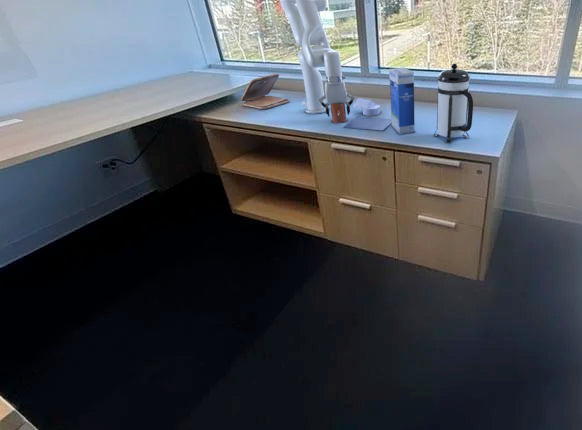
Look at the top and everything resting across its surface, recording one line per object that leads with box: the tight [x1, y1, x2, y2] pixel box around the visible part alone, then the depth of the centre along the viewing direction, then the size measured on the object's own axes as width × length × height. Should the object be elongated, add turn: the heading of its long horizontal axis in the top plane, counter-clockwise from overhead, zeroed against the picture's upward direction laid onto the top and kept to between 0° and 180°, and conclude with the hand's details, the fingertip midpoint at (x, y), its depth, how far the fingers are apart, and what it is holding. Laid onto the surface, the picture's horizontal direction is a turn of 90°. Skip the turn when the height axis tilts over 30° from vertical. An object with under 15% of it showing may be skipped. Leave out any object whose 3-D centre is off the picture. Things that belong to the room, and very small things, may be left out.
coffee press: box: [433, 63, 474, 143], centre depth 155 cm, size 17×16×30 cm
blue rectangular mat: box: [343, 116, 392, 132], centre depth 183 cm, size 20×16×1 cm
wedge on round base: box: [352, 97, 381, 117], centre depth 197 cm, size 9×7×13 cm
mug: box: [329, 103, 347, 124], centre depth 186 cm, size 10×7×9 cm
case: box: [240, 73, 290, 110], centre depth 217 cm, size 20×21×16 cm
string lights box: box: [388, 66, 416, 135], centre depth 168 cm, size 13×8×26 cm, turn 17°
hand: (338, 114), depth 188 cm, fingers open, 9 cm apart
